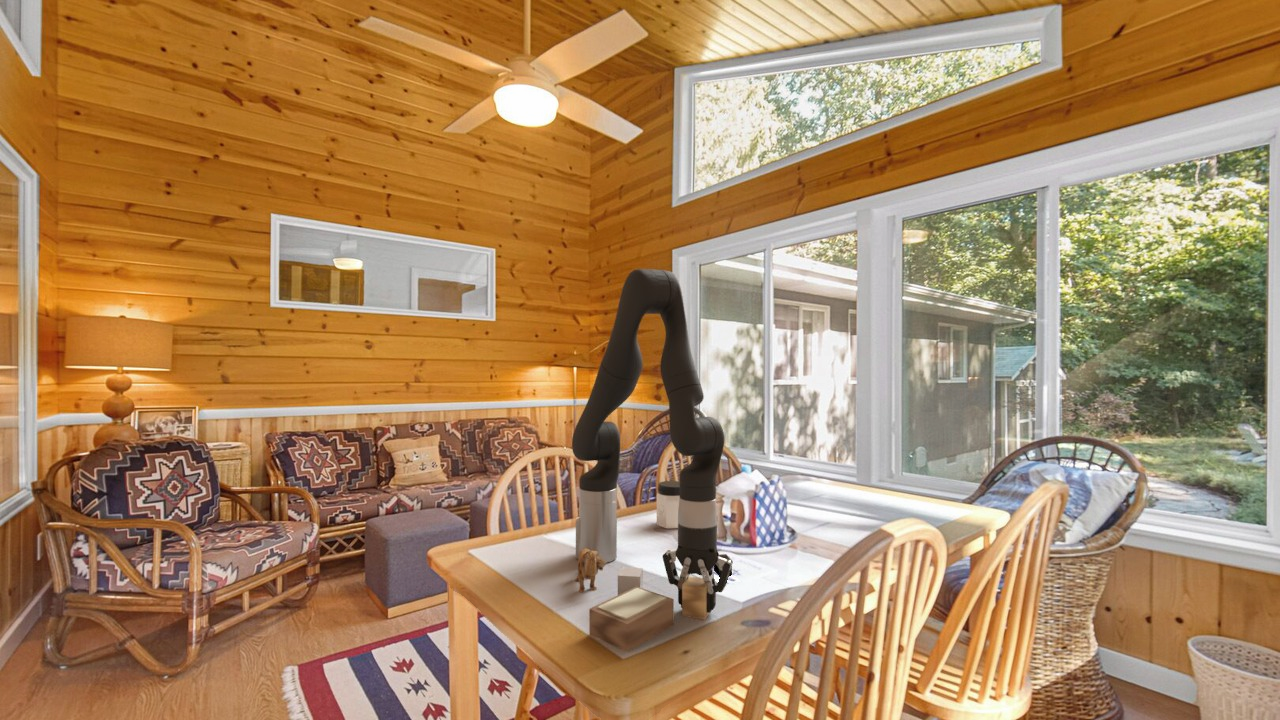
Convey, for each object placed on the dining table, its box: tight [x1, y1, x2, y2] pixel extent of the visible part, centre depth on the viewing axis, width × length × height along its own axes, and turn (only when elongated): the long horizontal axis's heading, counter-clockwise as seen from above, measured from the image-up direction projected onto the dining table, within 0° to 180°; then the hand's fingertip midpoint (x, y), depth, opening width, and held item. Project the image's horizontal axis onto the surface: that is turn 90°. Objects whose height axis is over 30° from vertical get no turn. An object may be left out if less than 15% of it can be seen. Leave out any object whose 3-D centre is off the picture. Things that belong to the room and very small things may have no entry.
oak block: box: [681, 575, 710, 620], centre depth 113 cm, size 4×4×6 cm
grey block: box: [617, 566, 644, 596], centre depth 118 cm, size 4×4×6 cm
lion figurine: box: [575, 548, 607, 593], centre depth 126 cm, size 15×5×9 cm, turn 19°
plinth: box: [588, 587, 675, 653], centre depth 106 cm, size 9×13×5 cm
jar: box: [656, 480, 680, 530], centre depth 170 cm, size 9×8×12 cm
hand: (696, 608), depth 113 cm, fingers closed on oak block, 4 cm apart
